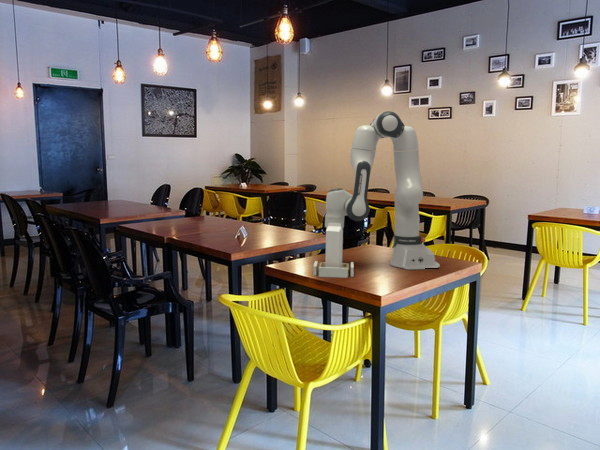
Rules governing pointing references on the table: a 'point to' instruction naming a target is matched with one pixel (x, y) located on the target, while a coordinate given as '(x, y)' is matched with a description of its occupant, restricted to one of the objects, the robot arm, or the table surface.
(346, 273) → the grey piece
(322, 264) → the frame
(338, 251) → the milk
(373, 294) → the table surface
